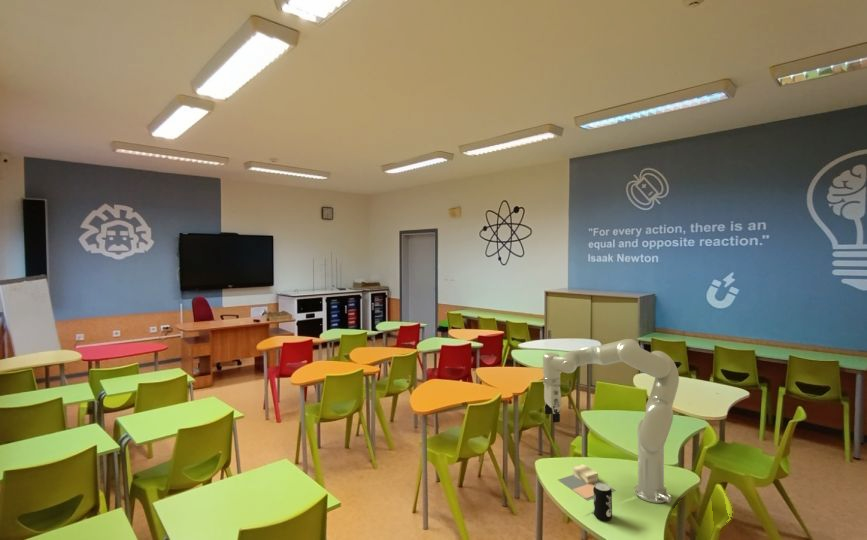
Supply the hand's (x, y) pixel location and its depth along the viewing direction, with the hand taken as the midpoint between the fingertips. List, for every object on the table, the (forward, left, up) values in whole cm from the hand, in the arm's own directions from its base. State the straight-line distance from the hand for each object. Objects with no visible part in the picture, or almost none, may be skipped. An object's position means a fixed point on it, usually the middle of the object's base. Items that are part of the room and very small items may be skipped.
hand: (552, 417), depth 194 cm
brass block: (-9, -10, -26) cm, 29 cm away
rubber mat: (-14, -6, -26) cm, 31 cm away
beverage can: (-33, +4, -27) cm, 43 cm away
